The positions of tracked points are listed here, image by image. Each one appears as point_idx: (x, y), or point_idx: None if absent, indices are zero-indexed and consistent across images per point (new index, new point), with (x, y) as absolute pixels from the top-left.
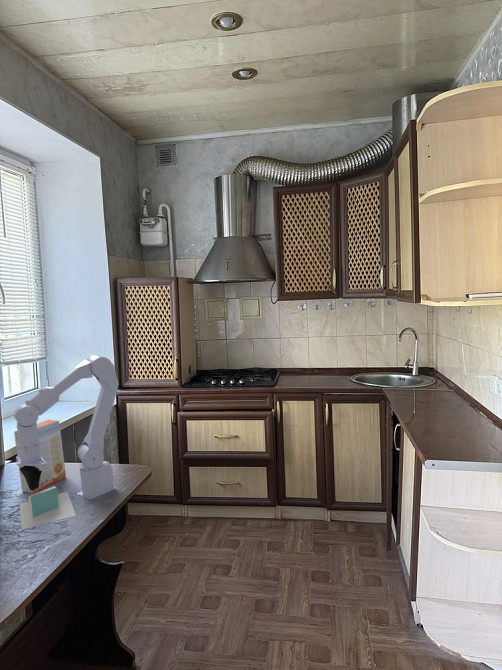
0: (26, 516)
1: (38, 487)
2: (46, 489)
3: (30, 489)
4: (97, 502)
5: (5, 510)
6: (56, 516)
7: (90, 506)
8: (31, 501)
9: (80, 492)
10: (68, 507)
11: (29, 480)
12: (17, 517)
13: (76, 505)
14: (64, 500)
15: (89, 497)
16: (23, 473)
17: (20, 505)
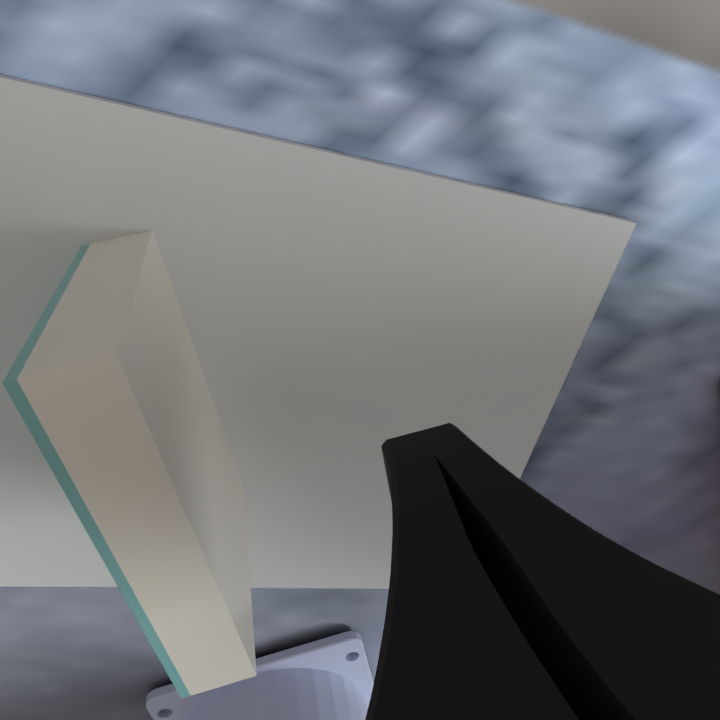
0: (175, 188)
1: None
2: (208, 601)
3: (426, 433)
4: (61, 716)
5: (629, 41)
6: None
7: (9, 676)
8: (26, 344)
9: (347, 659)
10: (90, 559)
11: (398, 581)
12: (287, 98)
13: (126, 602)
14: (298, 553)
15: (177, 698)
16: (668, 642)
17: (567, 215)
